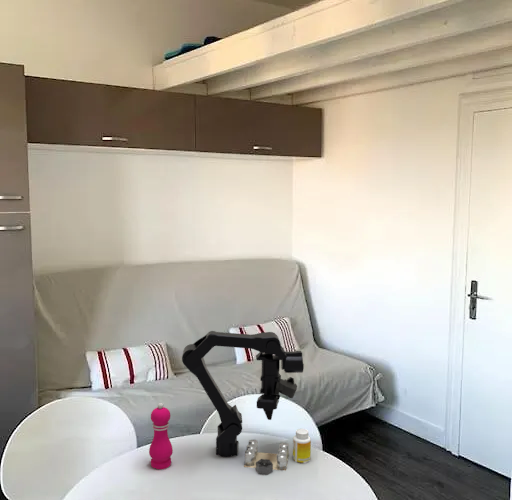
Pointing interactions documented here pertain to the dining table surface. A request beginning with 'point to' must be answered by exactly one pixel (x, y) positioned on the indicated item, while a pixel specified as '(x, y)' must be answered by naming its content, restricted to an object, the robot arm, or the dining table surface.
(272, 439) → the dining table surface
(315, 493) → the dining table surface
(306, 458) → the supplement bottle
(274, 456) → the board
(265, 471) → the nut
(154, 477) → the dining table surface
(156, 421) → the pepper mill
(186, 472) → the dining table surface
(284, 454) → the spacers
